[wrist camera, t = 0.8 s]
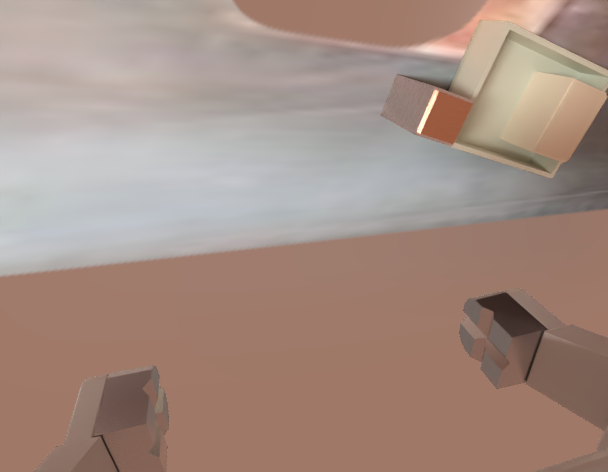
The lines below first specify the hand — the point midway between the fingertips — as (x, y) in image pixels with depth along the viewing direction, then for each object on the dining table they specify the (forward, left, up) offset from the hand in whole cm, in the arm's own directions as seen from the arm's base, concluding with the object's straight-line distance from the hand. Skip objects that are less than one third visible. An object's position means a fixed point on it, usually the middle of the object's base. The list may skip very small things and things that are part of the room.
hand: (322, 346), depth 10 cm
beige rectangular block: (-9, +40, -39) cm, 57 cm away
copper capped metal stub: (-5, +22, -40) cm, 46 cm away
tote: (-9, +36, -40) cm, 54 cm away
